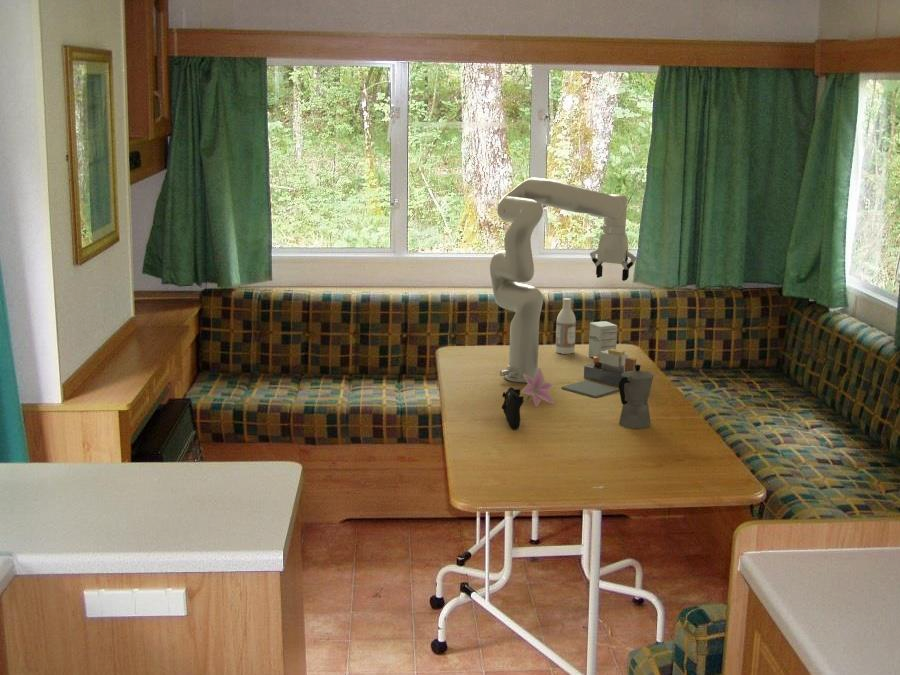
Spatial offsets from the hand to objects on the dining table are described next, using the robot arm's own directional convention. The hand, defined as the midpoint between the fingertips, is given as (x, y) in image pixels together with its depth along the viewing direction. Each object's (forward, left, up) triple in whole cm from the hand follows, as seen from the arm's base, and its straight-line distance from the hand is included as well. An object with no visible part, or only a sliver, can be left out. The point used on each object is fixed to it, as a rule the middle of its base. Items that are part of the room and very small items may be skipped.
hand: (612, 278), depth 393 cm
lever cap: (-21, -19, -23) cm, 37 cm away
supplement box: (+1, +3, -30) cm, 30 cm away
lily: (-59, -19, -30) cm, 69 cm away
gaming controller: (-80, -28, -30) cm, 90 cm away
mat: (-35, -21, -29) cm, 50 cm away
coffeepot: (-55, -53, -30) cm, 82 cm away
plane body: (-21, -19, -29) cm, 41 cm away
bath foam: (-3, +17, -30) cm, 35 cm away
